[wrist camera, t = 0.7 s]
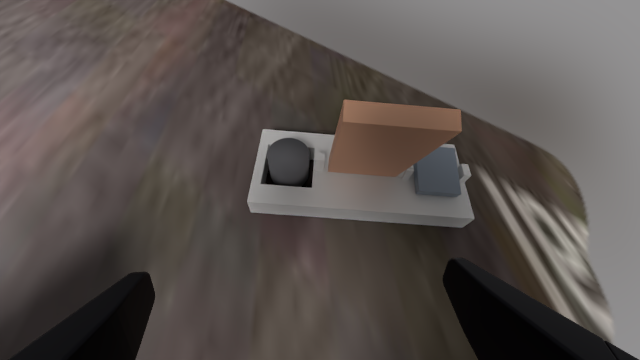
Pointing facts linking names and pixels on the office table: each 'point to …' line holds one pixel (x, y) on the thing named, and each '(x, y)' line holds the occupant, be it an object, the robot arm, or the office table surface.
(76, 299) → the office table surface
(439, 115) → the paddle lever
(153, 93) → the office table surface
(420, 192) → the rocker switch
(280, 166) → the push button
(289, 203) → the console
